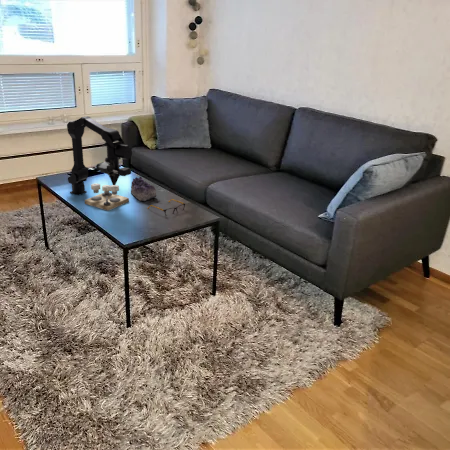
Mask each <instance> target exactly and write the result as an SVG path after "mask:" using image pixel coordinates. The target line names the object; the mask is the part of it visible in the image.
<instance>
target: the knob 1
mask: <svg viewBox="0 0 450 450" xmlns="http://www.w3.org/2000/svg"><path fill="white" fill-rule="evenodd" d="M90 188H91V190H92V192H93V193H94V194H99V191H100V190H101V184H100V183H92V184H90Z"/></svg>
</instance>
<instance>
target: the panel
mask: <svg viewBox="0 0 450 450" xmlns="http://www.w3.org/2000/svg"><path fill="white" fill-rule="evenodd" d="M106 197H108V202H110V203H111V205H108V206H106V205H104V202H106ZM129 202H130V198H129V197H128V196H127V197H126V196H122V195H118V194H116V195H113V194H112V192H111V191H109V194H104V192H101V193H98V194H97V195H94V196H92V197H89V198H87V199H84V204H85V205H89V206H91V207H94V208H98V209H101V210H105V211H111V210H113V209H116V208H117V207H120V206H122V205H125V204H127V203H129Z"/></svg>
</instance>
